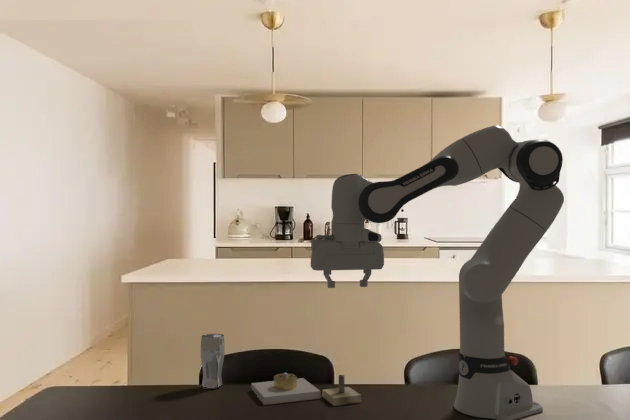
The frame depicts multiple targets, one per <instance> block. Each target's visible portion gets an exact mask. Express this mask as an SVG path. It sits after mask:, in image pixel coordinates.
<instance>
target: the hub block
mask: <svg viewBox="0 0 630 420" xmlns="http://www.w3.org/2000/svg"><path fill="white" fill-rule="evenodd" d="M287 373H288V372H283V373H281V374H282V378H288V374H289V373H288V374H287ZM251 388H252V390H253V391H254V393H255V394H256V395H257V396H256V395H255V394H254V393H253V394H254V395H255V396H256V397H257V399H258V398H259V399H258V400H259V401H260V402H261V403H262V404H263V406H266V405H276V404H282V403H283V404H285V403H292V402H302V401H309V400H310V401H311V400H318V399H319V400H320V399H321V390H320V389H319V388H317V387H316V386H315V385H313V384H312V383H310V382H309V381H307V379H305V378H304V377H302V378H301V377H299V378H298V377H297V387H296V388H295V389H293V390H277V389H275V388H274V380H271V381H270V380H268V381H261V382H260V381H259V382H258V381H257V382H251V384H250V389H251Z"/></svg>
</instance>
